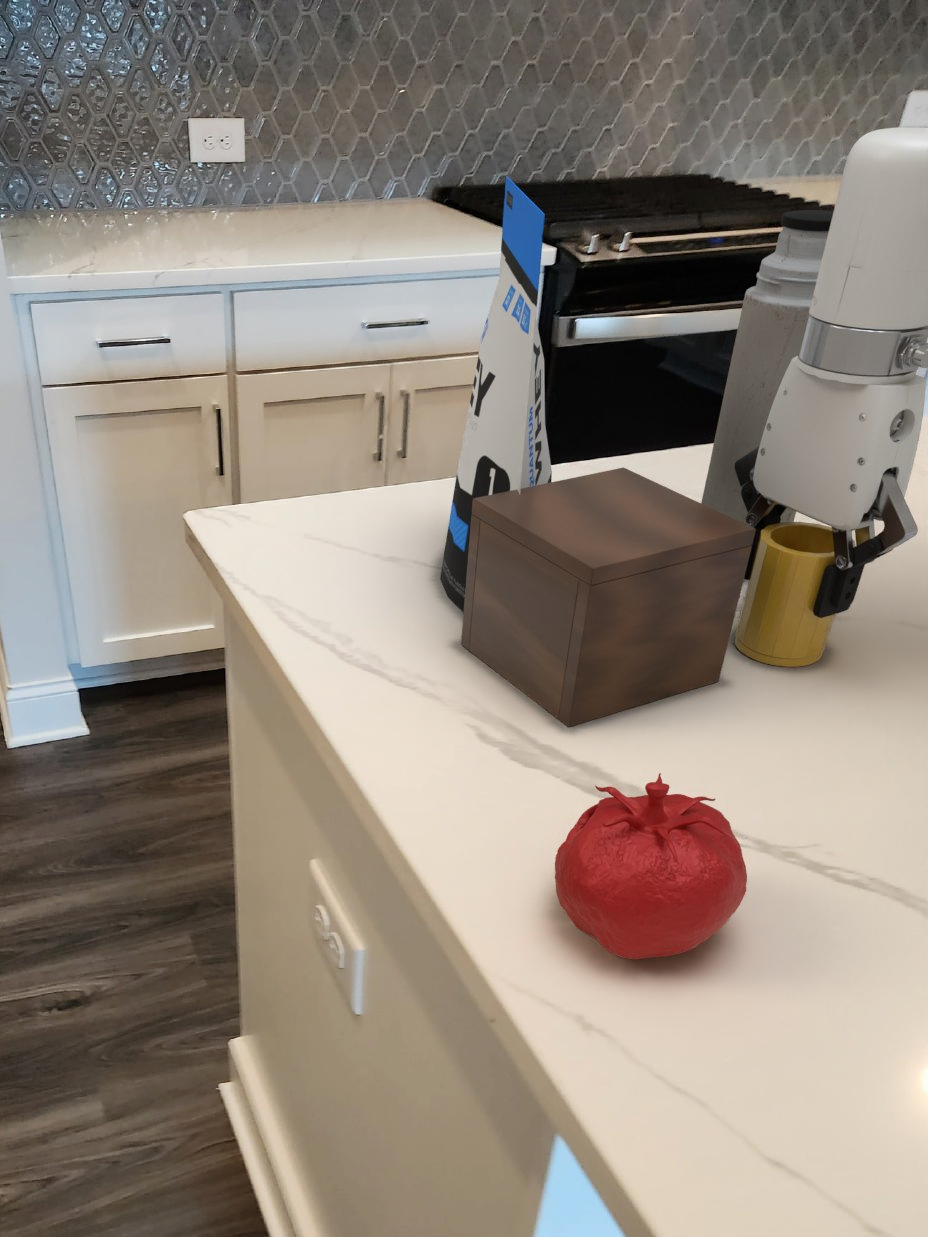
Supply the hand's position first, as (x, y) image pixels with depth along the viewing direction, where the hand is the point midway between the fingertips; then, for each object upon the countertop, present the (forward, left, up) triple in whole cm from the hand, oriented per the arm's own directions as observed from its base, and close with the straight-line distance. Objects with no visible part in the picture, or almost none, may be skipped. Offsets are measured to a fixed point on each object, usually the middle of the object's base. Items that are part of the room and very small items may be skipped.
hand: (793, 591), depth 84 cm
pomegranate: (+31, +20, -5) cm, 37 cm away
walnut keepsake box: (+15, -5, -5) cm, 16 cm away
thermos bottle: (-9, -14, -5) cm, 17 cm away
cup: (0, 0, -5) cm, 5 cm away
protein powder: (+13, -21, -5) cm, 25 cm away
